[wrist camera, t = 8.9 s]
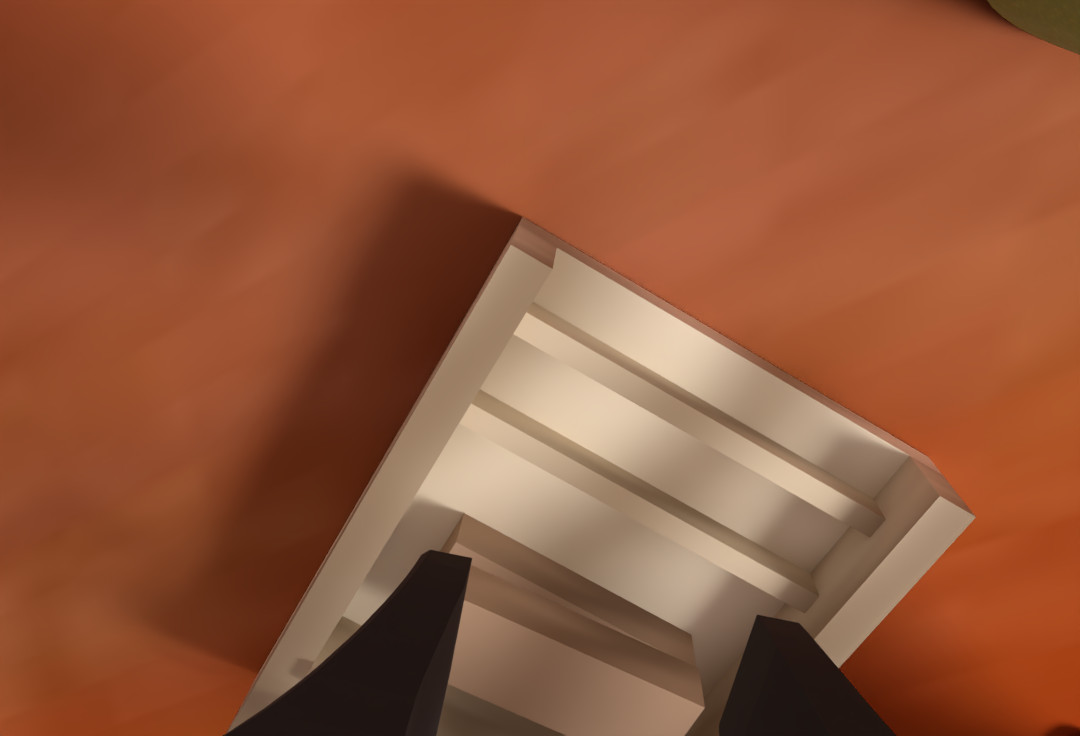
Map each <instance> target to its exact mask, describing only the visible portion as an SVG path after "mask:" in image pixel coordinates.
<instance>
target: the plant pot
mask: <svg viewBox="0 0 1080 736" xmlns="http://www.w3.org/2000/svg"><path fill="white" fill-rule="evenodd" d="M987 1H988V2H989V4H990V5H991V7H992V8H993V9H995V10H996V11H997V12H998V13H999V14H1000V15H1001V16H1002V17H1003V18H1005V19H1006V20H1008V21H1009V22H1010V23H1012V24H1013V25H1015V26H1016V27H1018V28H1020V29H1022V30H1024V31H1025V32H1027V33H1029V34H1031V35H1033V36H1035V37H1038V38H1040V39H1042V40H1044V41H1047V42H1049V43H1051V44H1053V45H1056V46H1058V47H1061V48H1064V49H1066V50H1069V51H1072V52H1074V53H1077V54H1079V55H1080V0H987Z"/></svg>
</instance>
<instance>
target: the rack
mask: <svg viewBox="0 0 1080 736" xmlns="http://www.w3.org/2000/svg"><path fill="white" fill-rule="evenodd" d="M464 513H465V514H467V515H469V516H471V517H473V518H475V519H476V520H478V521H480V522H482V523H484V524H486V525H488V526H489V527H491V528H493V529H495V530H497V531H499V532H501V533H503V534H504V535H506V536H508V537H510V538H512V539H514V540H516V541H517V542H519V543H521V544H523V545H525V546H527V547H529V548H531V549H532V550H534V551H536V552H538V553H540V554H542V555H544V556H545V557H547V558H549V559H551V560H553V561H555V562H557V563H559V564H560V565H562V566H564V567H566V568H568V569H570V570H572V571H573V572H575V573H577V574H579V575H581V576H583V577H585V578H587V579H588V580H590V581H592V582H594V583H596V584H598V585H600V586H601V587H603V588H605V589H607V590H609V591H611V592H613V593H615V594H616V595H618V596H620V597H622V598H624V599H626V600H628V601H629V602H631V603H633V604H635V605H637V606H639V607H641V608H643V609H644V610H646V611H648V612H650V613H652V614H654V615H656V616H658V617H659V618H661V619H663V620H665V621H667V622H669V623H671V624H672V625H674V626H676V627H678V628H680V629H682V630H684V631H686V632H687V633H689V634H691V636H692V643H693V649H694V655H695V662H696V667H697V668H699V673H700V680H701V686H702V692H703V698H704V704H705V708H704V710H703V711H702V712H701V714H700V715H699V717H698V718H697V719H696V721H695V722H694V723H693V725H692V726H691V728H690V729H689V730H688V732H687V733H686V734H685V736H719V723H720V720H721V717H722V714H723V711H724V709H725V706H726V703H727V700H728V697H729V694H730V691H731V688H732V685H733V683H734V680H735V677H736V674H737V671H738V668H739V665H740V662H741V659H742V656H743V654H744V651H745V648H746V645H747V642H748V639H749V636H750V633H751V630H752V627H753V625H754V622H755V619H756V616H757V615H762V616H767V617H772V618H777V619H782V620H787V621H792V622H797V623H800V624H801V625H802V627H803V628H804V629H805V630H806V631H807V632H808V633H809V634H810V635H811V637H812V638H813V639H814V640H815V641H816V642H817V643H818V645H819V646H820V647H821V648H822V649H823V651H824V652H825V653H826V654H827V655H828V656H829V658H830V659H831V660H832V661H833V662H834V664H835V665H836V666H837V667H838V668H840V666H841V665H842V664H843V663H844V662H845V661H846V660H847V659H848V658H849V656H850V655H851V654H852V653H853V652H854V651H855V650H856V649H857V648H858V647H859V645H860V644H861V643H862V642H863V641H864V640H865V639H866V638H867V637H868V636H869V634H870V633H871V632H872V631H873V630H874V629H875V628H876V627H877V626H878V624H879V623H880V622H881V621H882V620H883V619H884V618H885V617H886V616H887V615H888V613H889V612H890V611H891V610H892V609H893V608H894V607H895V606H896V605H897V604H898V602H899V601H900V600H901V599H902V598H903V597H904V596H905V595H906V594H907V592H908V591H909V590H910V589H911V588H912V587H913V586H914V585H915V584H916V583H917V581H918V580H919V579H920V578H921V577H922V576H923V575H924V574H925V573H926V572H927V570H928V569H929V568H930V567H931V566H932V565H933V564H934V563H935V562H936V560H937V559H938V558H939V557H940V556H941V555H942V554H943V553H944V552H945V551H946V549H947V548H948V547H949V546H950V545H951V544H952V543H953V542H954V541H955V540H956V538H957V537H958V536H959V535H960V534H961V533H962V532H963V531H964V530H965V528H966V527H967V526H968V525H969V524H970V523H971V522H972V521H973V520H974V519H975V517H976V516H975V515H974V514H973V513H972V511H971V510H970V509H969V508H968V506H967V505H966V504H965V503H964V501H963V500H962V499H961V498H960V496H959V495H958V494H957V493H956V491H955V490H954V489H953V488H952V486H951V485H950V484H949V482H948V481H947V480H946V479H945V477H944V476H943V475H942V474H941V472H940V471H939V470H938V469H937V467H936V466H935V465H934V464H933V462H932V461H931V460H930V459H929V457H928V456H926V455H924V454H923V453H921V452H919V451H917V450H916V449H914V448H912V447H911V446H909V445H907V444H906V443H904V442H902V441H901V440H899V439H897V438H895V437H894V436H892V435H890V434H889V433H887V432H885V431H884V430H882V429H880V428H879V427H877V426H875V425H874V424H872V423H870V422H868V421H867V420H865V419H863V418H862V417H860V416H858V415H857V414H855V413H853V412H852V411H850V410H848V409H846V408H845V407H843V406H841V405H840V404H838V403H836V402H835V401H833V400H831V399H830V398H828V397H826V396H824V395H823V394H821V393H819V392H818V391H816V390H814V389H813V388H811V387H809V386H808V385H806V384H804V383H803V382H801V381H799V380H797V379H796V378H794V377H792V376H791V375H789V374H787V373H786V372H784V371H782V370H781V369H779V368H777V367H775V366H774V365H772V364H770V363H769V362H767V361H765V360H764V359H762V358H760V357H759V356H757V355H755V354H753V353H752V352H750V351H748V350H747V349H745V348H743V347H742V346H740V345H738V344H737V343H735V342H733V341H731V340H730V339H728V338H726V337H725V336H723V335H721V334H720V333H718V332H716V331H715V330H713V329H711V328H710V327H708V326H706V325H704V324H703V323H701V322H699V321H698V320H696V319H694V318H693V317H691V316H689V315H688V314H686V313H684V312H682V311H681V310H679V309H677V308H676V307H674V306H672V305H671V304H669V303H667V302H666V301H664V300H662V299H660V298H659V297H657V296H655V295H654V294H652V293H650V292H649V291H647V290H645V289H644V288H642V287H640V286H639V285H637V284H635V283H633V282H632V281H630V280H628V279H627V278H625V277H623V276H622V275H620V274H618V273H617V272H615V271H613V270H611V269H610V268H608V267H606V266H605V265H603V264H601V263H600V262H598V261H596V260H595V259H593V258H591V257H589V256H588V255H586V254H584V253H583V252H581V251H579V250H578V249H576V248H574V247H573V246H571V245H569V244H568V243H566V242H564V241H562V240H561V239H559V238H557V237H556V236H554V235H552V234H551V233H549V232H547V231H546V230H544V229H542V228H540V227H539V226H537V225H535V224H534V223H532V222H530V221H529V220H527V219H525V218H524V217H522V219H521V220H520V222H519V224H518V226H517V227H516V229H515V231H514V232H513V234H512V236H511V238H510V239H509V241H508V243H507V245H506V246H505V248H504V250H503V251H502V253H501V255H500V257H499V258H498V260H497V262H496V264H495V265H494V267H493V269H492V270H491V272H490V274H489V276H488V277H487V279H486V281H485V283H484V284H483V286H482V288H481V289H480V291H479V293H478V295H477V296H476V298H475V300H474V302H473V303H472V305H471V307H470V308H469V310H468V312H467V314H466V315H465V317H464V319H463V321H462V322H461V324H460V326H459V327H458V329H457V331H456V333H455V334H454V336H453V338H452V340H451V341H450V343H449V345H448V346H447V348H446V350H445V352H444V353H443V355H442V357H441V359H440V360H439V362H438V364H437V365H436V367H435V369H434V371H433V372H432V374H431V376H430V378H429V379H428V381H427V383H426V384H425V386H424V388H423V390H422V391H421V393H420V395H419V397H418V398H417V400H416V402H415V403H414V405H413V407H412V409H411V410H410V412H409V414H408V416H407V417H406V419H405V421H404V422H403V424H402V426H401V428H400V429H399V431H398V433H397V435H396V436H395V438H394V440H393V441H392V443H391V445H390V447H389V448H388V450H387V452H386V454H385V455H384V457H383V459H382V460H381V462H380V464H379V466H378V467H377V469H376V471H375V473H374V474H373V476H372V478H371V479H370V481H369V483H368V485H367V486H366V488H365V490H364V492H363V493H362V495H361V497H360V498H359V500H358V502H357V504H356V505H355V507H354V509H353V511H352V512H351V514H350V516H349V517H348V519H347V521H346V523H345V524H344V526H343V528H342V530H341V531H340V533H339V535H338V536H337V538H336V540H335V542H334V543H333V545H332V547H331V549H330V550H329V552H328V554H327V555H326V557H325V559H324V561H323V562H322V564H321V566H320V568H319V569H318V571H317V573H316V574H315V576H314V578H313V580H312V581H311V583H310V585H309V587H308V588H307V590H306V592H305V593H304V595H303V597H302V599H301V600H300V602H299V604H298V606H297V607H296V609H295V611H294V612H293V614H292V616H291V618H290V619H289V621H288V623H287V625H286V626H285V628H284V630H283V631H282V633H281V635H280V637H279V638H278V640H277V642H276V644H275V645H274V647H273V649H272V650H271V652H270V654H269V656H268V657H267V659H266V661H265V663H264V664H263V666H262V668H261V669H260V671H259V673H258V675H257V677H256V678H255V680H254V682H253V684H252V686H251V688H250V690H249V692H248V693H247V695H246V697H245V699H244V701H243V703H242V705H241V707H240V708H239V710H238V712H237V714H236V716H235V718H234V720H233V721H232V723H231V725H230V727H229V729H228V731H227V733H228V732H229V731H231V730H232V729H234V728H235V727H237V726H238V725H240V724H241V723H243V722H244V721H246V720H247V719H249V718H250V717H252V716H253V715H255V714H256V713H258V712H259V711H261V710H262V709H264V708H265V707H267V706H268V705H269V704H271V703H272V702H273V701H275V700H276V699H277V698H279V697H280V696H281V695H283V694H284V693H285V692H287V691H288V690H289V689H291V688H292V687H293V686H294V685H296V684H297V683H298V682H300V681H301V680H302V679H303V678H304V677H306V676H307V675H308V674H309V673H311V672H312V671H313V670H314V669H315V668H317V667H318V666H319V665H320V664H321V663H322V662H323V661H324V660H325V659H327V658H328V657H329V656H330V655H331V654H332V653H333V652H334V651H335V650H336V649H338V648H339V647H340V646H341V645H342V644H343V643H344V642H345V641H346V640H348V639H349V638H350V637H351V636H352V635H353V634H354V633H355V632H356V631H357V630H358V629H359V628H360V627H361V626H362V625H363V624H364V623H365V622H366V621H367V620H368V619H369V618H370V617H371V615H372V614H373V613H374V612H375V611H376V610H377V609H378V608H379V607H380V606H381V605H382V604H383V603H384V602H385V601H386V600H387V599H388V597H389V596H390V595H391V594H392V593H393V592H394V590H395V589H396V588H397V587H398V586H399V585H400V583H401V582H402V581H403V580H404V578H405V577H406V576H407V575H408V573H409V572H410V571H411V569H412V568H413V567H414V565H415V564H416V562H417V561H418V559H419V557H420V556H421V555H422V554H424V553H425V552H427V551H429V550H435V551H440V550H441V549H442V547H443V546H444V544H445V542H446V541H447V539H448V538H449V536H450V535H451V533H452V531H453V530H454V528H455V527H456V525H457V524H458V522H459V520H460V519H461V517H462V516H463V514H464ZM436 736H566V735H564V734H561V733H559V732H557V731H554V730H552V729H550V728H548V727H545V726H543V725H541V724H538V723H536V722H534V721H531V720H529V719H527V718H525V717H522V716H520V715H518V714H515V713H513V712H511V711H509V710H506V709H504V708H502V707H499V706H497V705H495V704H492V703H490V702H488V701H486V700H483V699H481V698H479V697H476V696H474V695H472V694H469V693H467V692H465V691H463V690H460V689H458V688H456V687H453V686H451V685H449V684H448V685H447V689H446V694H445V698H444V703H443V708H442V712H441V717H440V721H439V726H438V730H437V735H436Z"/></svg>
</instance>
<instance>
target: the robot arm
mask: <svg viewBox="0 0 1080 736" xmlns="http://www.w3.org/2000/svg"><path fill="white" fill-rule="evenodd" d="M471 562H472V558H470V557H465V556H460V555H455V554H450V553H445V552H440V551H435V550H429V551H427V552H425V553H424V554H422V555H421V556H420V557H419V559H418V561H417V562H416V564H415V565H414V567H413V568H412V569H411V571H410V572H409V573H408V575H407V576H406V577H405V578H404V580H403V581H402V582H401V583H400V585H399V586H398V587H397V588H396V589H395V590H394V592H393V593H392V594H391V595H390V596H389V597H388V599H387V600H386V601H385V602H384V603H383V604H382V605H381V606H380V607H379V608H378V609H377V610H376V611H375V612H374V613H373V614H372V615H371V617H370V618H369V619H368V620H367V621H366V622H365V623H364V624H363V625H362V626H361V627H360V628H359V629H358V630H357V631H356V632H355V633H354V634H353V635H352V636H351V637H350V638H349V639H348V640H346V641H345V642H344V643H343V644H342V645H341V646H340V647H339V648H338V649H336V650H335V651H334V652H333V653H332V654H331V655H330V656H329V657H328V658H327V659H325V660H324V661H323V662H322V663H321V664H320V665H319V666H318V667H317V668H315V669H314V670H313V671H312V672H311V673H309V674H308V675H307V676H306V677H304V678H303V679H302V680H301V681H300V682H298V683H297V684H296V685H294V686H293V687H292V688H291V689H289V690H288V691H287V692H285V693H284V694H283V695H281V696H280V697H279V698H277V699H276V700H275V701H273V702H272V703H271V704H269V705H268V706H267V707H265V708H264V709H262V710H261V711H259V712H258V713H256V714H255V715H253V716H252V717H250V718H249V719H247V720H246V721H244V722H243V723H241V724H240V725H238V726H237V727H235V728H234V729H232V730H231V731H229V732H228V733H226V734H225V735H223V736H436V735H437V730H438V726H439V721H440V717H441V712H442V708H443V703H444V698H445V694H446V689H447V685H448V680H449V676H450V671H451V666H452V660H453V655H454V650H455V645H456V640H457V635H458V629H459V624H460V619H461V614H462V609H463V603H464V598H465V593H466V588H467V583H468V578H469V572H470V567H471ZM719 736H896V735H895V734H894V733H893V732H892V730H891V729H890V728H889V727H888V726H887V725H886V724H885V723H884V721H883V720H882V719H881V718H880V717H879V716H878V714H877V713H876V712H875V711H874V710H873V709H872V708H871V706H870V705H869V704H868V703H867V702H866V701H865V699H864V698H863V697H862V696H861V695H860V693H859V692H858V691H857V690H856V689H855V688H854V686H853V685H852V684H851V683H850V682H849V680H848V679H847V678H846V677H845V676H844V674H843V673H842V672H841V671H840V670H839V668H838V667H837V666H836V665H835V664H834V662H833V661H832V660H831V659H830V658H829V656H828V655H827V654H826V653H825V652H824V651H823V649H822V648H821V647H820V646H819V645H818V643H817V642H816V641H815V640H814V639H813V638H812V637H811V635H810V634H809V633H808V632H807V631H806V630H805V629H804V628H803V627H802V625H801V624H800V623H797V622H792V621H787V620H782V619H777V618H772V617H767V616H762V615H757V616H756V619H755V622H754V625H753V627H752V630H751V633H750V636H749V639H748V642H747V645H746V648H745V651H744V654H743V656H742V659H741V662H740V665H739V668H738V671H737V674H736V677H735V680H734V683H733V685H732V688H731V691H730V694H729V697H728V700H727V703H726V706H725V709H724V711H723V714H722V717H721V720H720V723H719Z"/></svg>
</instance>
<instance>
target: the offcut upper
mask: <svg viewBox="0 0 1080 736" xmlns="http://www.w3.org/2000/svg"><path fill="white" fill-rule="evenodd" d="M448 684H449V685H451V686H453V687H456V688H458V689H460V690H463V691H465V692H467V693H469V694H472V695H474V696H476V697H479V698H481V699H483V700H486V701H488V702H490V703H492V704H495V705H497V706H499V707H502V708H504V709H506V710H509V711H511V712H513V713H515V714H518V715H520V716H522V717H525V718H527V719H529V720H531V721H534V722H536V723H538V724H541V725H543V726H545V727H548V728H550V729H552V730H554V731H557V732H559V733H561V734H564V735H566V736H685V734H686V733H687V732H688V730H689V729H690V728H691V726H692V725H693V723H694V722H695V721H696V719H697V718H698V717H699V715H700V714H701V712H702V711H703V710H704V708H705V704H704V698H703V692H702V686H701V680H700V673H699V668H697V667H695V666H693V665H691V664H689V663H686V662H684V661H682V660H680V659H678V658H675V657H673V656H671V655H669V654H667V653H664V652H662V651H660V650H658V649H655V648H653V647H651V646H649V645H647V644H644V643H642V642H640V641H638V640H636V639H633V638H631V637H629V636H627V635H624V634H622V633H620V632H618V631H616V630H613V629H611V628H609V627H607V626H605V625H602V624H600V623H598V622H596V621H594V620H591V619H589V618H587V617H585V616H582V615H580V614H578V613H576V612H574V611H571V610H569V609H567V608H565V607H563V606H560V605H558V604H556V603H554V602H552V601H549V600H547V599H545V598H543V597H540V596H538V595H536V594H534V593H532V592H529V591H527V590H525V589H523V588H521V587H518V586H516V585H514V584H512V583H510V582H507V581H505V580H503V579H501V578H498V577H496V576H494V575H492V574H490V573H487V572H485V571H483V570H481V569H479V568H476V567H474V566H472V565H471V567H470V572H469V578H468V583H467V588H466V593H465V598H464V603H463V609H462V614H461V619H460V624H459V629H458V635H457V640H456V645H455V650H454V655H453V660H452V666H451V671H450V676H449V680H448Z"/></svg>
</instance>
